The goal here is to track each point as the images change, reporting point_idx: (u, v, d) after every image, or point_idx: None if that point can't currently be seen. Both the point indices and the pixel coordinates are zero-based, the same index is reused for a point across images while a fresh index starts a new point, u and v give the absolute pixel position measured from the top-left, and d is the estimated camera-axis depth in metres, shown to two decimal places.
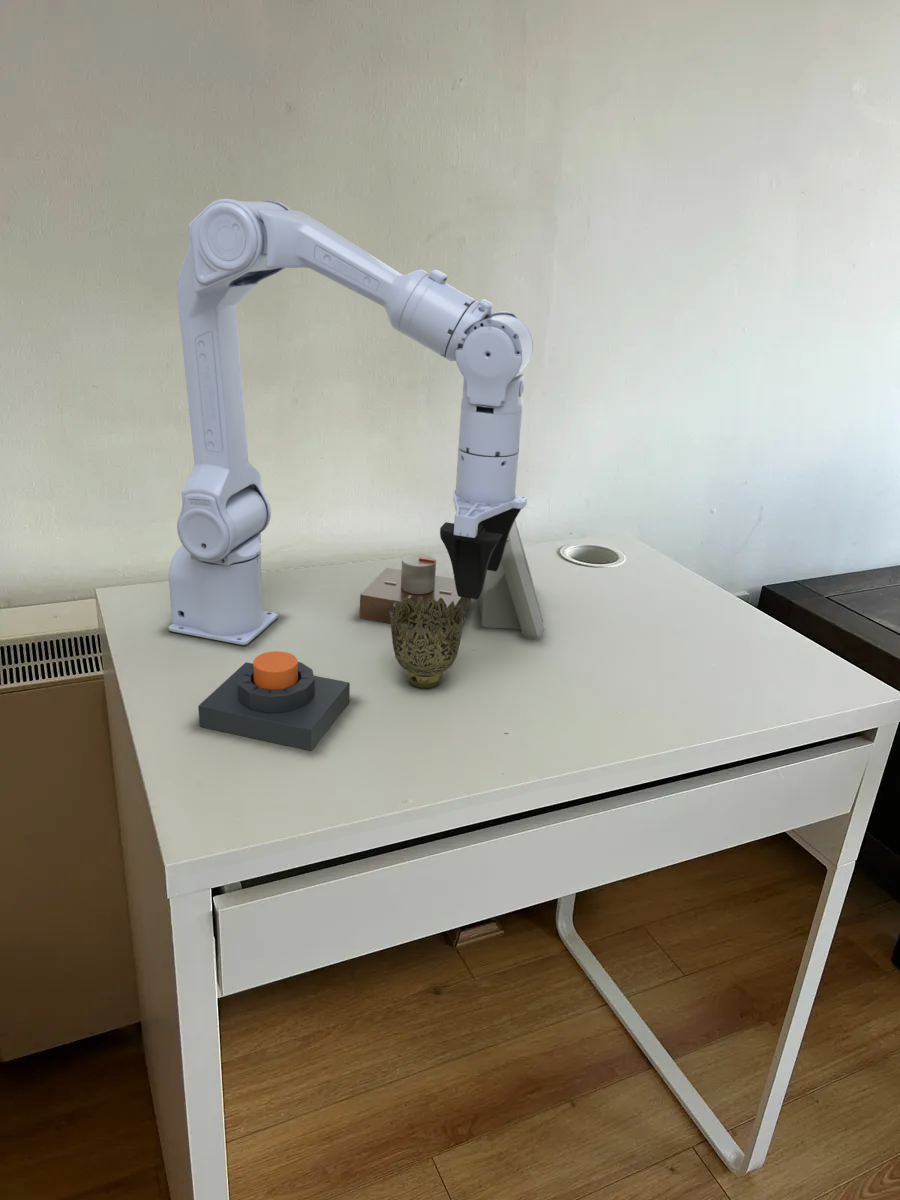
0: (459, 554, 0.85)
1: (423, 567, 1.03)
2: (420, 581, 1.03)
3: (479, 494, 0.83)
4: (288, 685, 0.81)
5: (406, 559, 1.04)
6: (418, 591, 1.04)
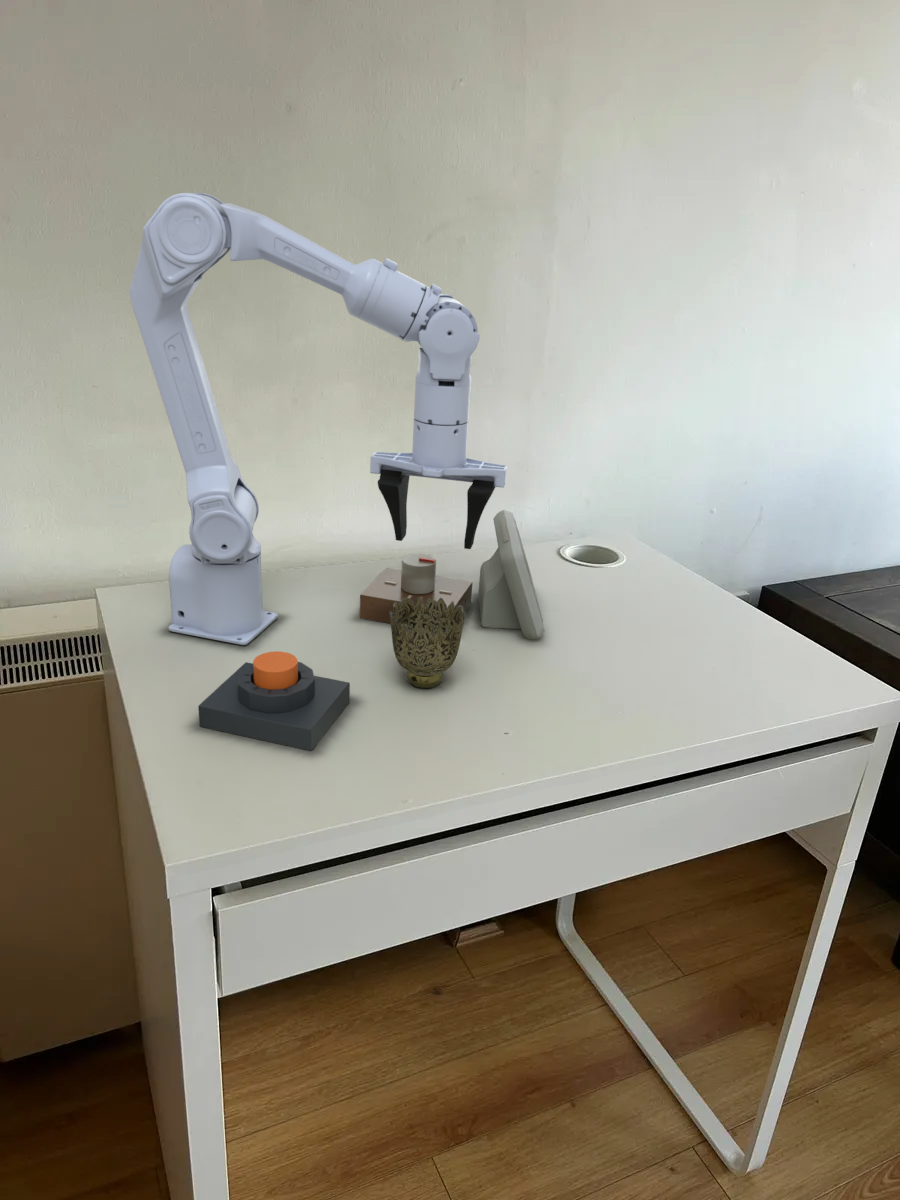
0: None
1: (423, 567, 1.03)
2: (420, 581, 1.03)
3: None
4: (288, 685, 0.81)
5: (406, 559, 1.04)
6: (418, 591, 1.04)
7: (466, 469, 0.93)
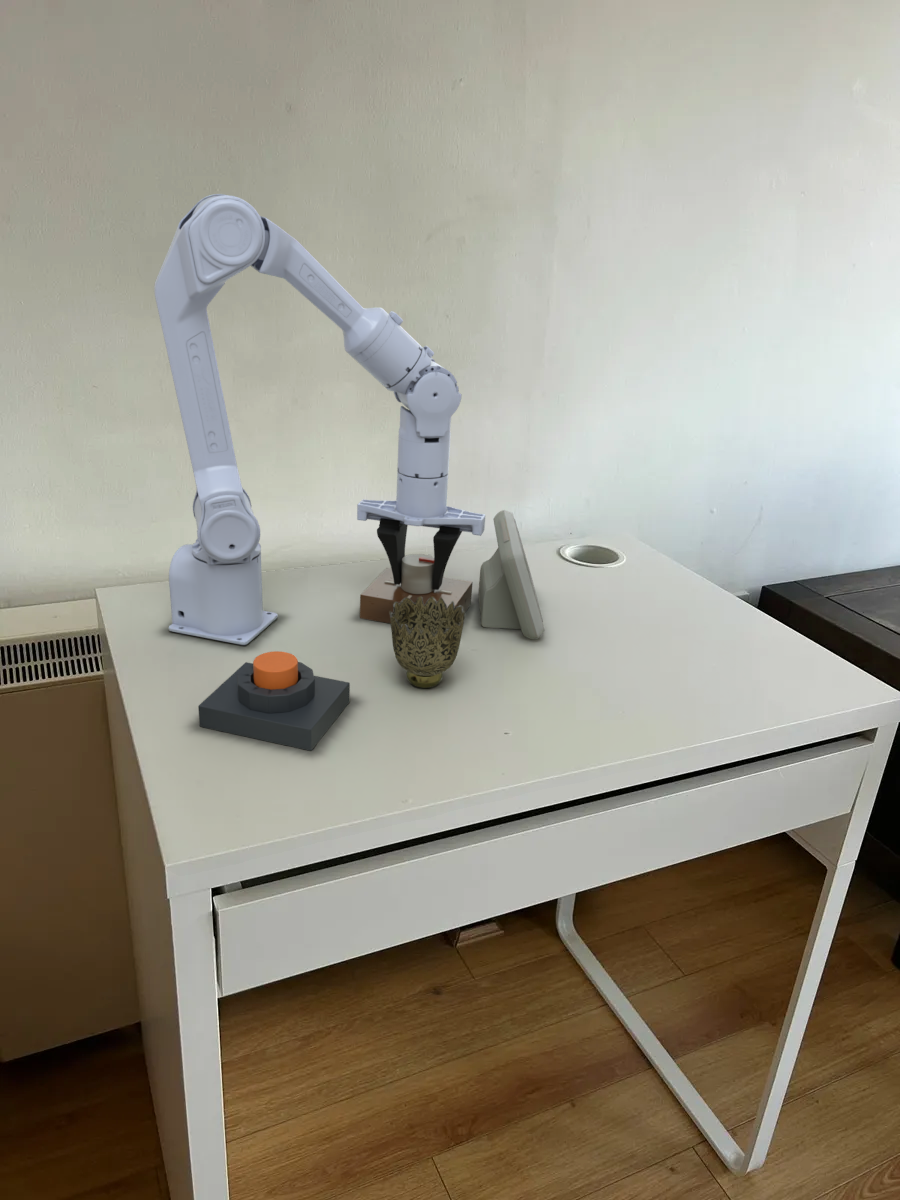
0: None
1: (423, 567, 1.03)
2: (420, 581, 1.03)
3: None
4: (288, 685, 0.81)
5: (406, 559, 1.04)
6: (418, 591, 1.04)
7: (445, 518, 1.00)
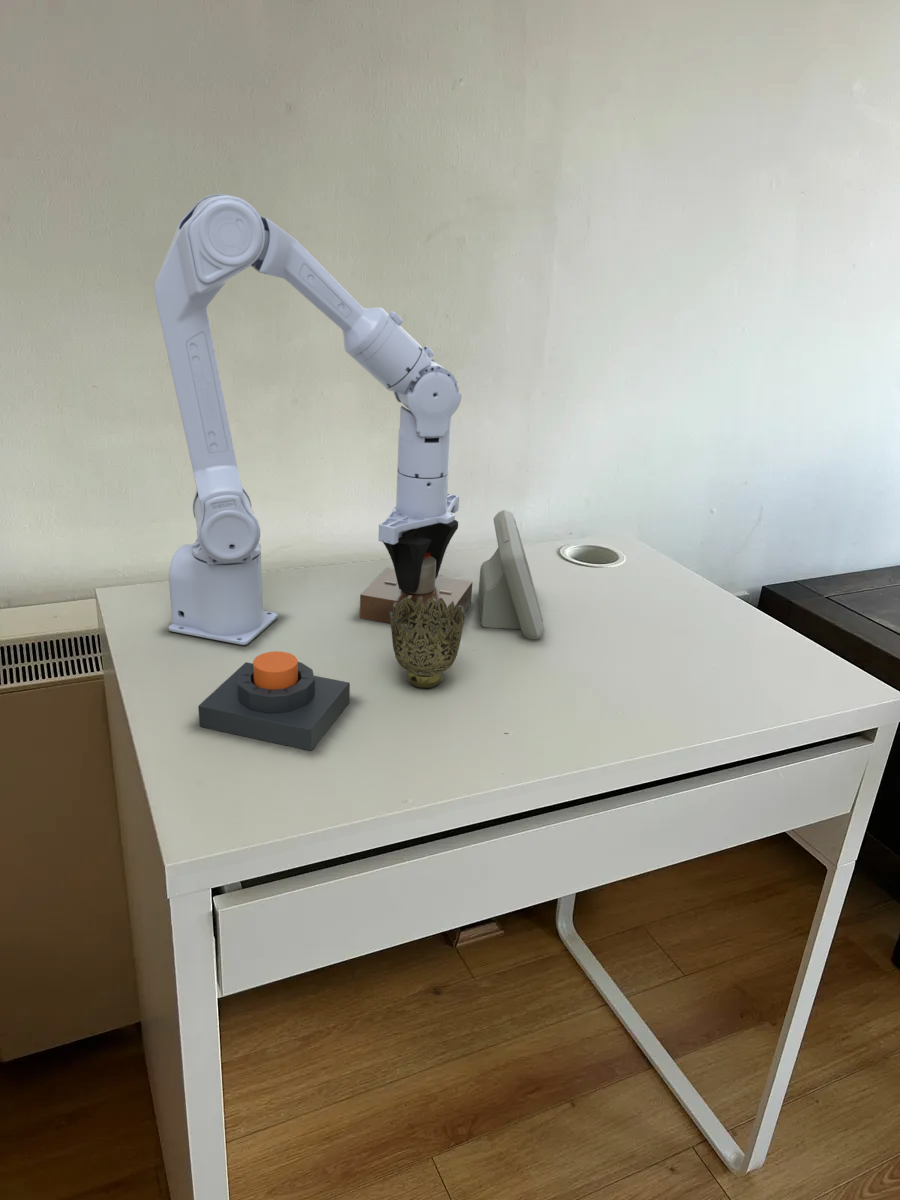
0: (398, 554, 1.02)
1: None
2: None
3: (409, 509, 0.99)
4: (288, 685, 0.81)
5: None
6: (434, 587, 1.05)
7: (450, 506, 1.04)
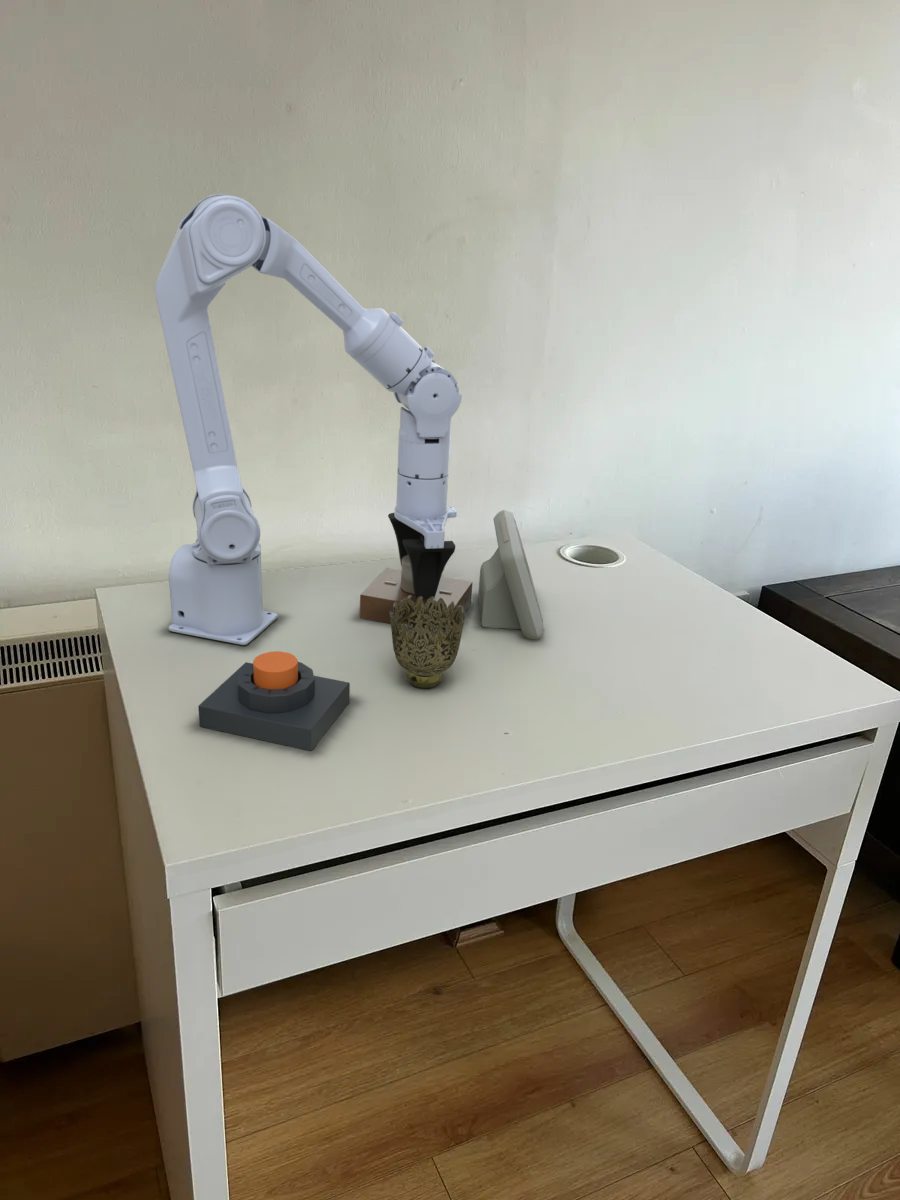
0: (419, 564, 1.00)
1: None
2: None
3: (428, 511, 0.99)
4: (288, 685, 0.81)
5: None
6: None
7: None
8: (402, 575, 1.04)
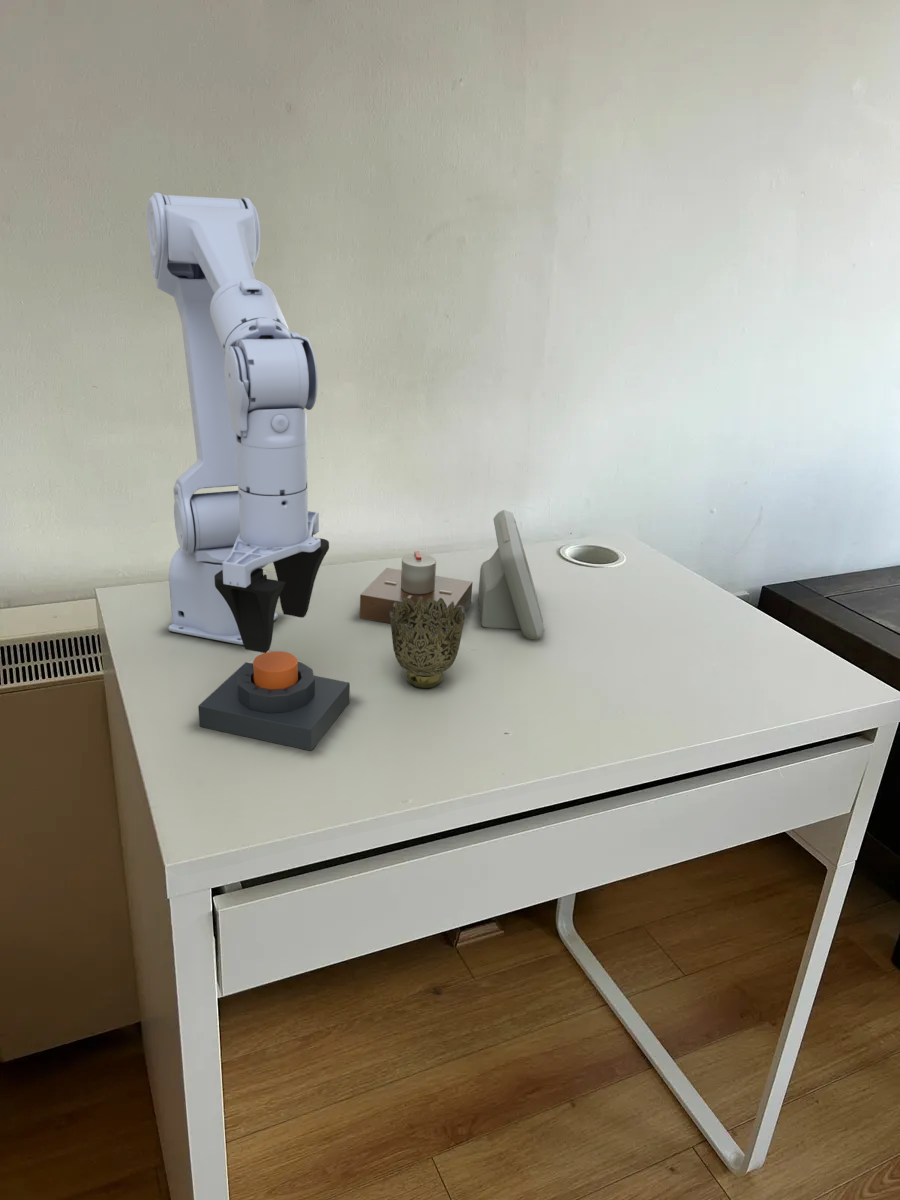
0: (240, 603, 0.76)
1: None
2: None
3: (259, 537, 0.74)
4: (288, 685, 0.81)
5: (425, 564, 1.03)
6: None
7: (311, 527, 0.80)
8: (402, 575, 1.04)
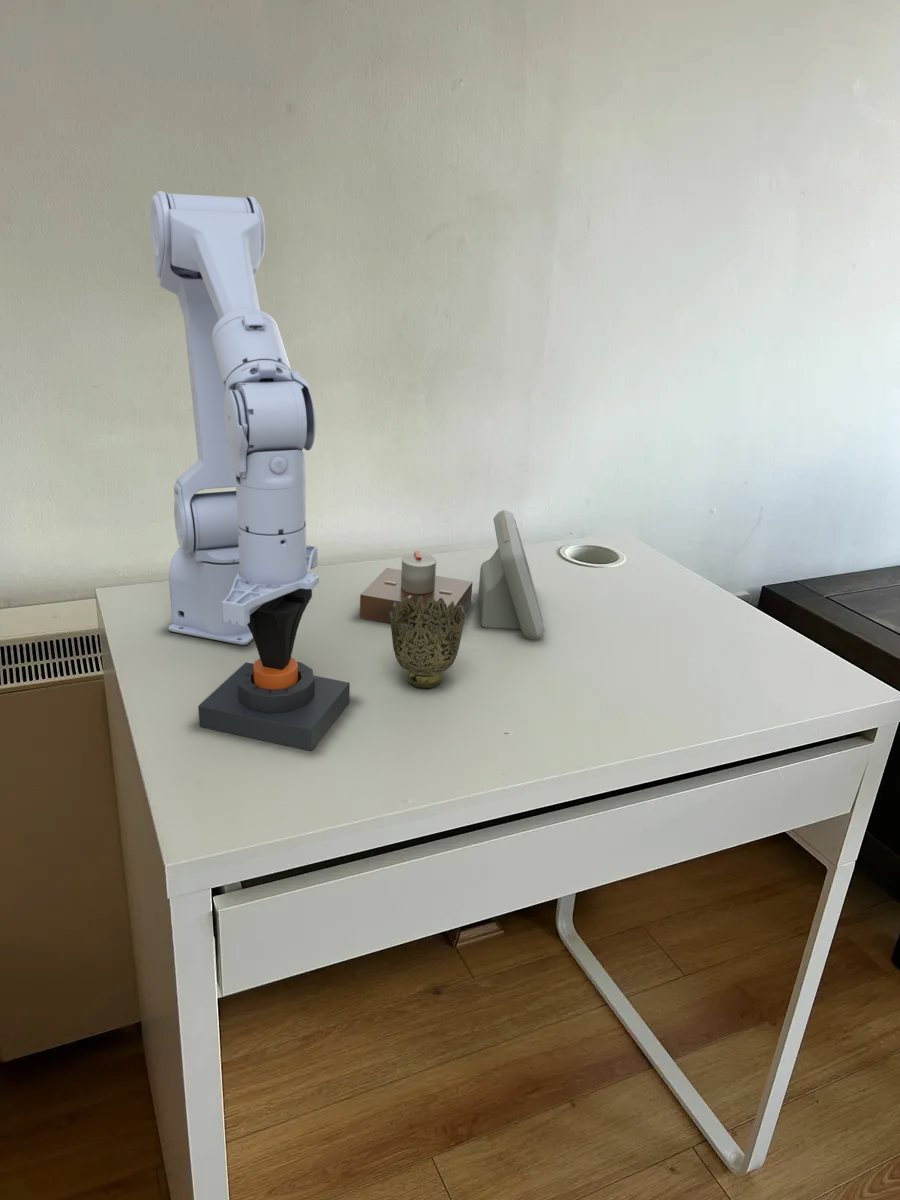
0: (259, 623, 0.80)
1: None
2: None
3: (259, 575, 0.76)
4: None
5: (425, 564, 1.03)
6: None
7: (310, 563, 0.81)
8: (402, 575, 1.04)
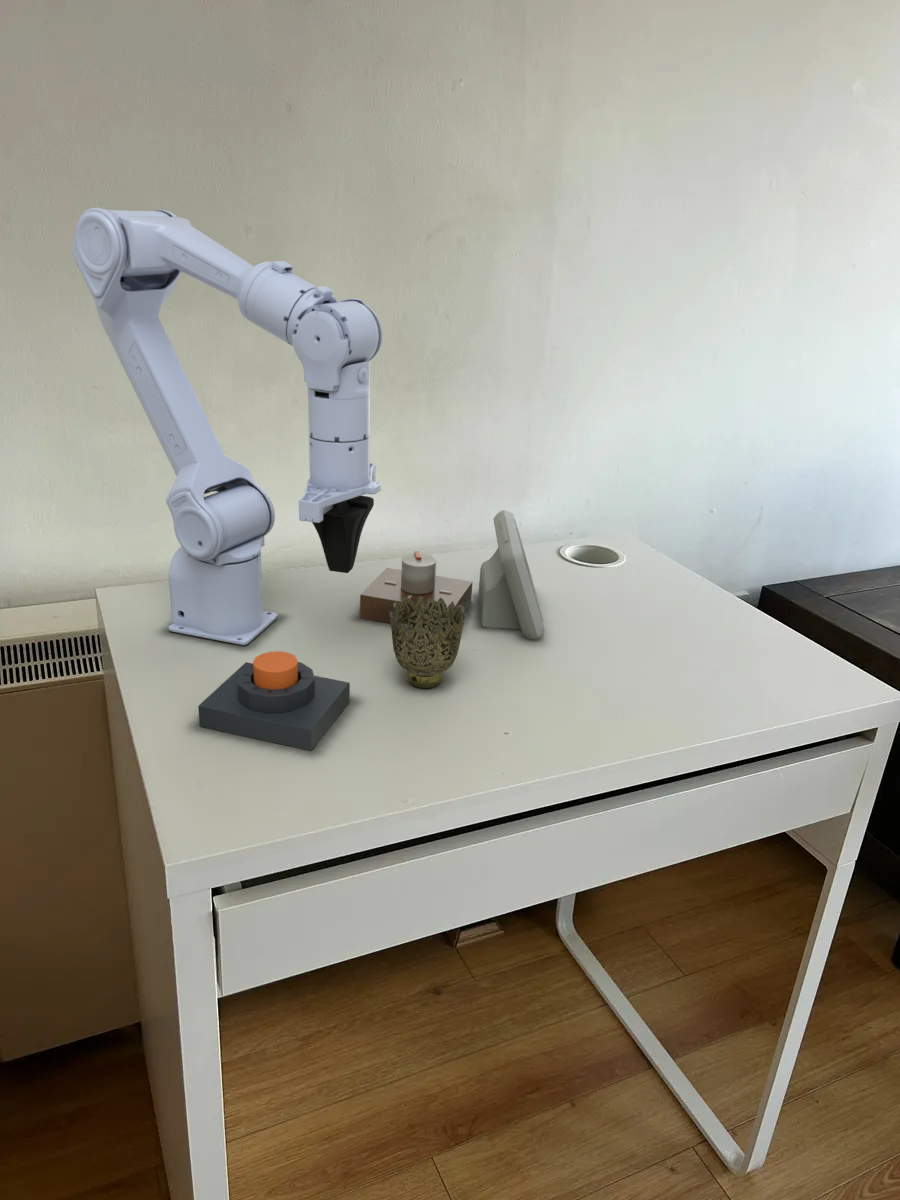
0: (326, 529, 0.88)
1: None
2: None
3: (329, 480, 0.84)
4: (288, 685, 0.81)
5: (425, 564, 1.03)
6: None
7: (371, 475, 0.89)
8: (402, 575, 1.04)
